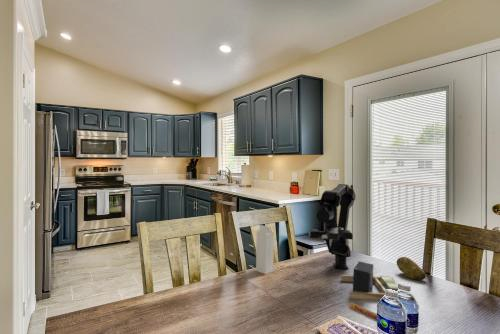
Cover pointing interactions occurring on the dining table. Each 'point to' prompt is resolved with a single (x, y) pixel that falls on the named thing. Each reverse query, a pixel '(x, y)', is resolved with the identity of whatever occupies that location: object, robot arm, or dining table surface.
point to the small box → (363, 277)
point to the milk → (264, 250)
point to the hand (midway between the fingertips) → (329, 252)
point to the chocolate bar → (363, 311)
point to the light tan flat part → (380, 282)
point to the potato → (410, 268)
